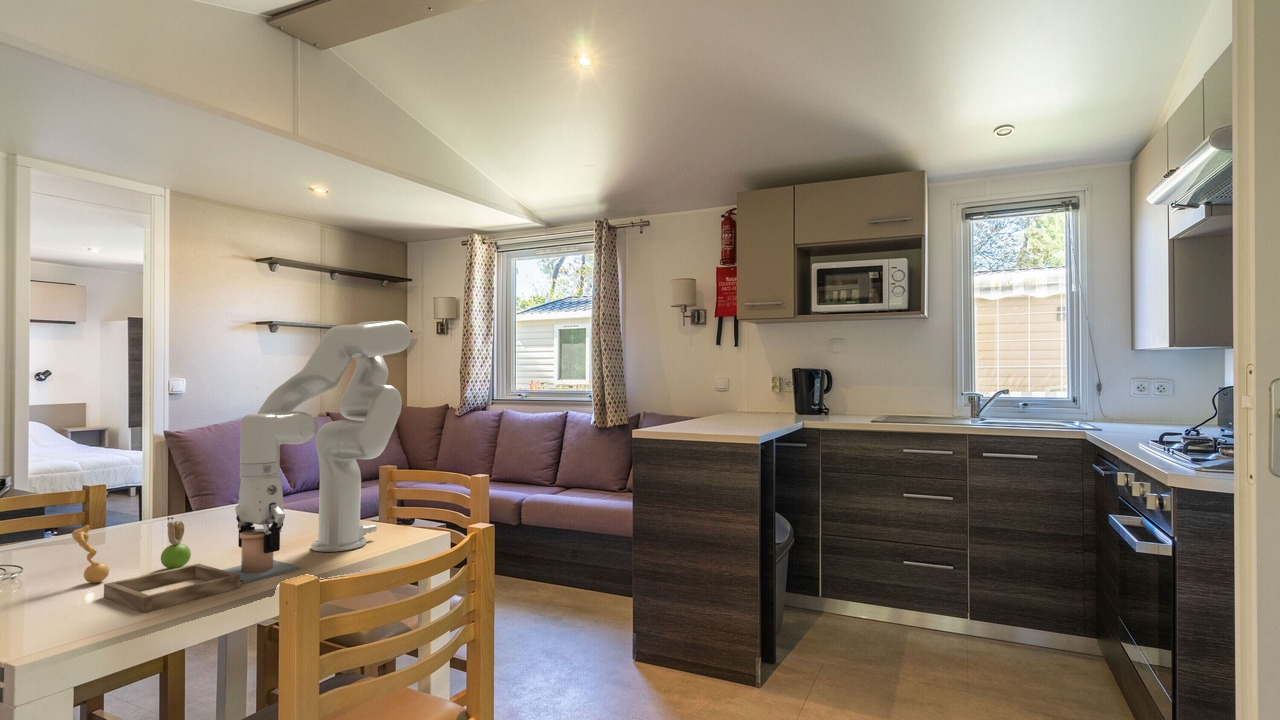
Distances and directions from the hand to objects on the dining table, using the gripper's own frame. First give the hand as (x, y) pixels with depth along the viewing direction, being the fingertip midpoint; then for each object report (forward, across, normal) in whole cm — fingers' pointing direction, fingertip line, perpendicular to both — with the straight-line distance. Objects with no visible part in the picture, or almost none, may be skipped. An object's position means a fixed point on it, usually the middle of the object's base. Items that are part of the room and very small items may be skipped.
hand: (258, 548), depth 139 cm
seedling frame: (+5, 0, +16) cm, 17 cm away
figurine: (+5, +21, +22) cm, 31 cm away
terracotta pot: (+4, 0, 0) cm, 4 cm away
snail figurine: (+5, +18, +8) cm, 20 cm away
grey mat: (+5, 0, 0) cm, 5 cm away
